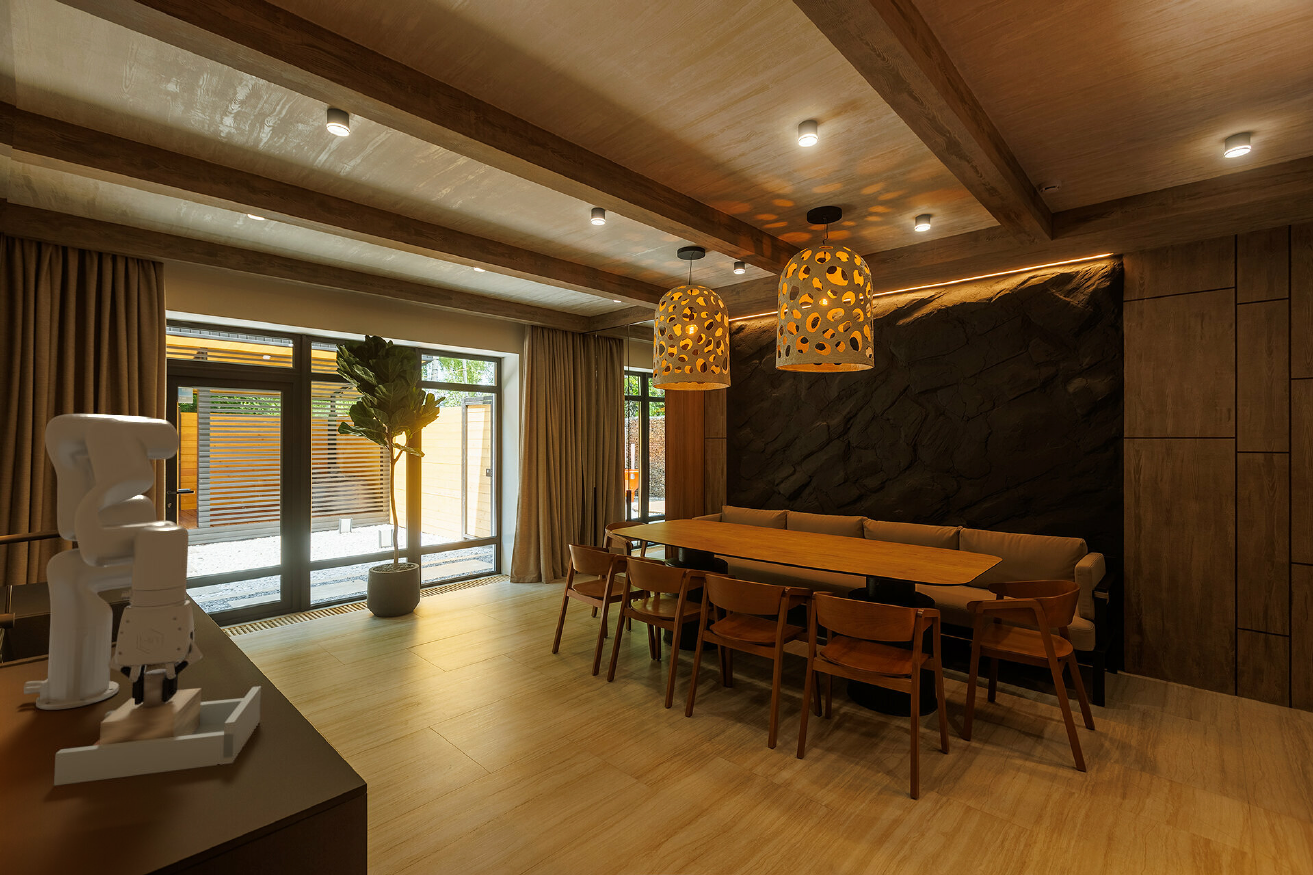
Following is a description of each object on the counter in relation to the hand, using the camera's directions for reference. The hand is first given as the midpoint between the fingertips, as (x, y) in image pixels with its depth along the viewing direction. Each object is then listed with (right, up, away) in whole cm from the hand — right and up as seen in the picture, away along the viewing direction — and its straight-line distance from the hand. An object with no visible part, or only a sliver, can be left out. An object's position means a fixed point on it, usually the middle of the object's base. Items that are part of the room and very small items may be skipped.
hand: (154, 699), depth 106 cm
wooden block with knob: (0, -8, 0) cm, 8 cm away
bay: (+2, -9, +1) cm, 10 cm away
